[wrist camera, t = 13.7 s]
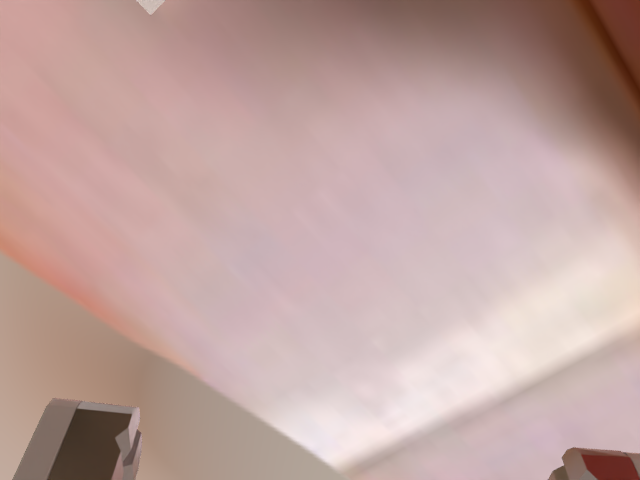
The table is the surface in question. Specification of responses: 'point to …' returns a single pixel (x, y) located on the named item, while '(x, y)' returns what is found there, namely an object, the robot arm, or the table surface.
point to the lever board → (150, 5)
